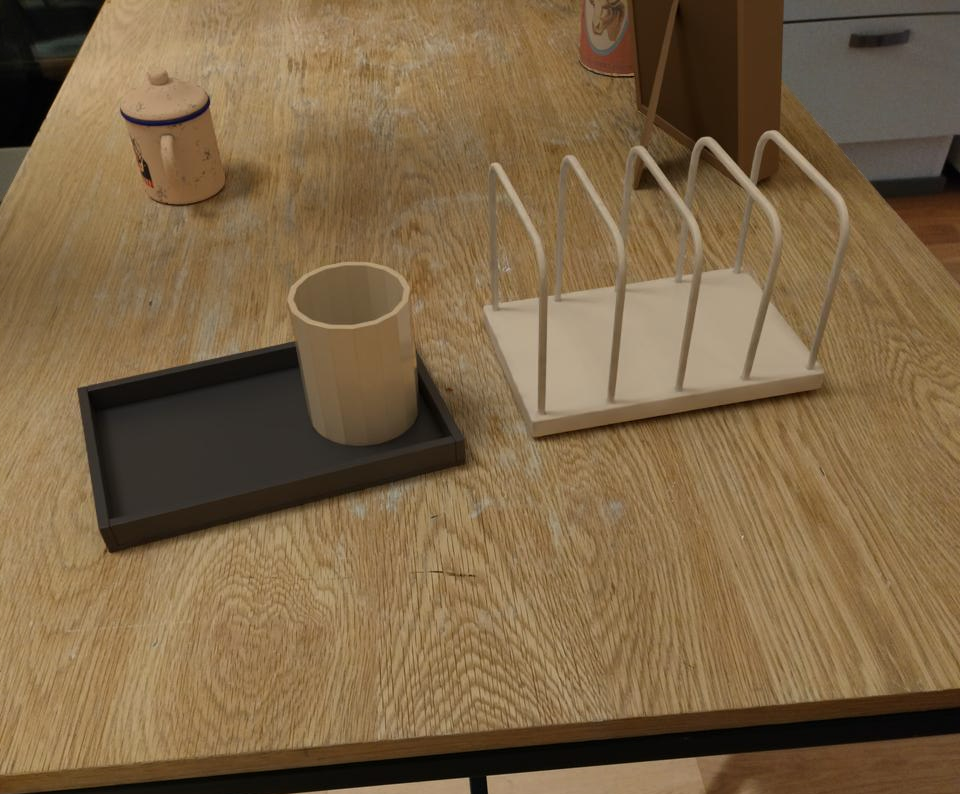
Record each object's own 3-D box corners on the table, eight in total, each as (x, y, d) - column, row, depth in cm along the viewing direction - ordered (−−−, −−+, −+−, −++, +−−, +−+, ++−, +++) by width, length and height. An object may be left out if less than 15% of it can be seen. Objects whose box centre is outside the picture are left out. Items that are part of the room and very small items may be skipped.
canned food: (561, 64, 125) (566, -46, 115) (608, 36, 130) (616, -70, 121) (636, 84, 120) (647, -28, 111) (681, 55, 126) (696, -54, 116)
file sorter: (739, 284, 91) (776, 110, 79) (821, 393, 80) (877, 211, 68) (481, 322, 88) (478, 146, 76) (531, 441, 77) (536, 259, 65)
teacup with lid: (146, 171, 108) (114, 56, 99) (228, 163, 108) (203, 49, 99) (139, 224, 100) (103, 105, 91) (227, 216, 101) (200, 97, 92)
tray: (108, 552, 70) (98, 529, 68) (86, 411, 81) (76, 387, 79) (466, 463, 76) (465, 439, 74) (401, 342, 86) (399, 318, 84)
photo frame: (667, 104, 116) (700, -159, 97) (776, 180, 104) (839, -105, 84) (559, 129, 113) (571, -139, 93) (659, 211, 100) (697, -80, 81)
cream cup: (325, 460, 76) (303, 339, 68) (299, 395, 81) (276, 275, 73) (433, 434, 78) (425, 313, 69) (401, 372, 83) (389, 252, 75)
